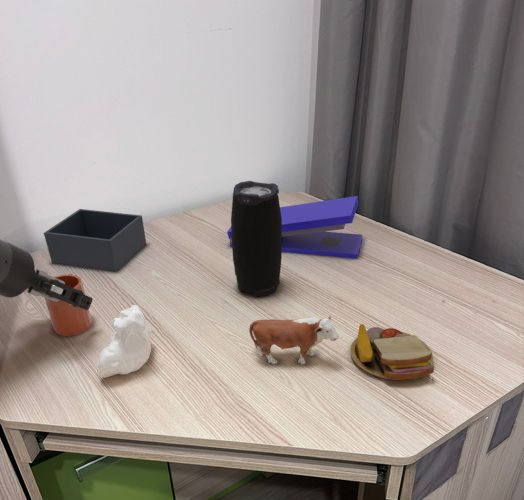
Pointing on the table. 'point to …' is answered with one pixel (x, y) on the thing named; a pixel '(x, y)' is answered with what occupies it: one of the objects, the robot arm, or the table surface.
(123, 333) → the bust
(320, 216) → the stapler
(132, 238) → the tub
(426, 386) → the table surface
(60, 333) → the rice cup
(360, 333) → the toy sandwich meal
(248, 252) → the portable speaker
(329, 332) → the bull figurine
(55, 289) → the robot arm
